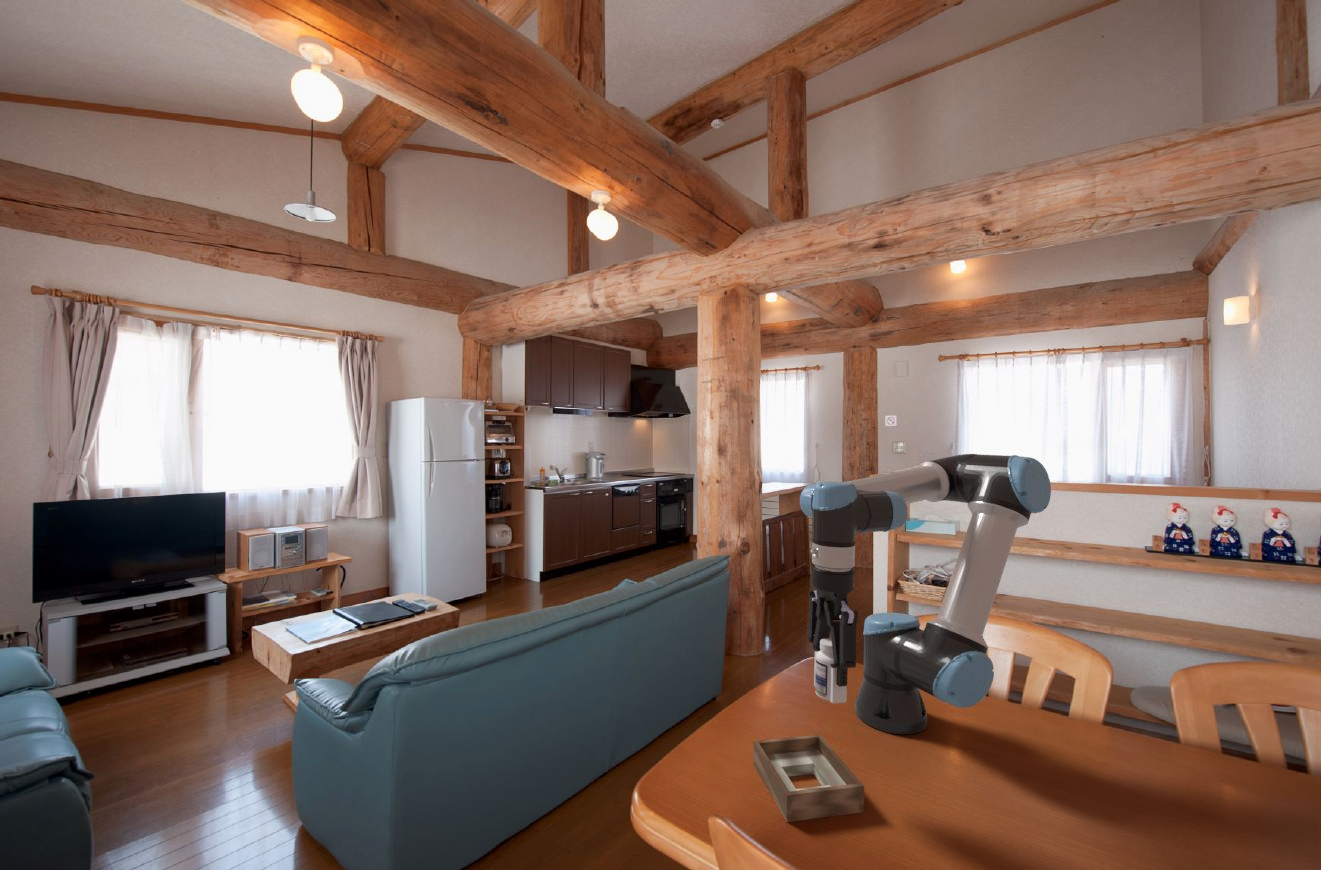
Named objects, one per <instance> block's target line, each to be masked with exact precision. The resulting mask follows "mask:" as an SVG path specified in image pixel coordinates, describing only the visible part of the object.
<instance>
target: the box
mask: <svg viewBox="0 0 1321 870" xmlns="http://www.w3.org/2000/svg"><path fill="white" fill-rule="evenodd" d="M752 756H753V762H752V763H753V766H754V768H755V770H756V771H757V772H758V775H759V776H760V779H761V780H762V782H763V784H764V785H765V787H766V789H767V790H768V792H769V794H770V795H771V797H772V798H773V801H774V803H775V804H776V806H777V807H778V809H779V811H780V813H781V815H782V817H783V818H784V820H785V822H786V823H791V822H797V821H806V820H813V819H822V818H828V817H836V816H843V815H844V816H845V815H851V814H859V813H864V812H865V811H864V809H865V808H864V805H865V804H864V803H865V802H864V801H865V799H864V798H865V795H864V794H865V785H863V783H862V782H861V781H860V780H859V778H858V777H857V776H856V775H855V774H854V772H853V771H852V770H851V769H850V767H848V765H847V764H846V763H845V762H844V761H843V759H841V757H840V756H839V754H837V752H836V751H835V749H833V748H832V746H831V745H830V744H829V743H828V741H826V740H825V738H824V737H823V735H821V734H811V735H801V736H793V737H792V736H791V737H782V738H781V737H780V738H771V739H763V740H753V755H752ZM805 775H814V776H815V778H816V779H817V781H818V782H819V784H820V785H818V786H809V787H801V788H796V787H795V785H794V783H793V782H792V780H791V779H790V777H797V776H805Z"/></svg>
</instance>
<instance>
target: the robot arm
mask: <svg viewBox="0 0 1321 870" xmlns="http://www.w3.org/2000/svg"><path fill="white" fill-rule="evenodd" d="M1051 495H1052V486H1051V479H1050V477H1049V474H1048V471H1047V470H1046V467H1045V466H1044V464H1042V463H1041V462H1040V461H1039V460H1038V459H1036V458H1034V457H1028V456H1019V455H1017V454H1014V455H1003V454H1002V455H995V454H978V453H963V454H956V455H953V456H948V457H947V456H946V457H942V458H938V459H933V460H929V461H924V462H921V463H920V464H919V465H917V466H916V468H911V469H904V470H899V471H894V472H889V473H883V474H879V475H874V476H869V477H868V476H867V477H864V478H857V479H852V480H849V481H827V480H826V481H819V482H817V483H810V484H808V485H806V486H805V487H804V488H803V490H802V491H801V493H800V496H799V507H800V508H801V511H802V512H803V514H804V515H805V516H806V517H808V518H811V519H812V521H811V522H812V525H811V526H812V529H811V536H812V538H811V541H812V543H811V549H810V554H811V563H812V564H813V565H812V566H811V568H810V569H811V570H810V571H811V572H810V585H811V587H812V588H813V589H815V590H809V591H808V600H809V610H808V611H809V613H808V634H807V635H808V636H807V637H808V638H807V639H808V642H809V643H810V644H812V648H813V650H814V661H813V662H814V663H813V665H814V670H813V673H814V674H813V686H814V687H815V673H816V654H817V652H818V651H820V650H821V649H820V640H821V639H824V638H831V639H832V649H833V658H834V664H830V665H831V694H830V701H829V703H831V704H844V703H847V699H848V697H847V696H848V688H847V687H848V670H849V669H853V668H856V667H857V622H858V620H859V613H858V611H857V610H851V608H850V607H849V604H850V603H849V600H848V594H849V593H851V592H853V590H854V589H855V571H854V569H853V568H854V567H855V566H856V534H860V533H876V532H884V533H887V532H889V531H895V530H899V529H900V528H902V527H903V526H904V525H905V523H906V521H907V518H908V506H907V504H913V503H916V502H917V503H918V502H922V501H927V502H929V503H930V502H931V503H937V502H943V501H946V502H947V501H949V502H957V503H958V502H959V503H965V504H967V507H968V509H969V511H970V512H971V514H972V515H971V518H970V520H969V523H968V527H967V530H966V533H965V535H964V539H963V541H962V544H961V548H960V551H959V552H958V553H959V554H958V556H957V559H956V562H955V565H954V568H953V570H952V574H951V576H950V578H949V579H950V580H949V583H948V584H947V587H946V591H945V594H944V596H943V600H942V602H941V606H940V608H939V611H938V613H937V614H938V615H937V617H934V618H932V619H929V620H927V621H926V625H925V627H924V629H921V623H920V620H919V618H918V617H917V616H915V615H911V614H907V613H900V612H877V613H874V614H870V615H869V616H867V617H866V618H865V619H864V623H863V624H864V627H863V632H862V633H863V634H862V636H863V637H862V639H863V642H862V643H863V677H862V678H863V679H862V681H861V683H860V687H859V690H858V693H857V695H856V697H855V703H854V707H855V708H854V712H855V714H856V716H857V717H858V718H859V720H860V721H862V722H863V723H864V724H866V725H867V726H870V727H872V728H874V729H876V730H879V731H882V732H886V733H890V734H896V735H914V734H919V733H921V732H923V731H925V730H926V729H927V726H928V713H927V709H926V706H925V702H924V700H923V696H922V694H921V691H922V692H924V693H927V694H928V695H931V696H932V697H935V699H937V700H939V701H941V702H943V703H947V704H950V705H952V706H953V707H957V708H965V709H966V708H971V707H973V706H975V705H976V704H978V703H980V702H981V701H982V700H983V699H984V698H985V697H986V696H987V694H988V692H989V691H990V689H991V687H992V685H993V681H994V677H995V672H994V671H993V670H994V669H995V667H994V664H993V661H992V660H991V658H990V657H989V656H988V655H987V651H988V648H989V646H988V644H987V641H986V640H985V638H984V632H985V628H986V626H987V624H988V620H989V616H990V613H991V610H992V607H993V604H994V601H995V598H996V595H997V592H998V589H999V586H1000V582H1001V579H1002V576H1003V573H1004V570H1005V567H1006V564H1007V562H1008V559H1009V555H1010V551H1011V549H1012V546H1013V542H1014V540H1015V536H1016V533H1017V530H1018V529H1019V528H1021V527H1024V526H1027V525H1028V524H1029V521H1030V517H1031V515H1032V514H1038V513H1042V512H1044V510H1045V509H1047V508H1048V507H1049V503H1050V500H1051V497H1052V496H1051ZM920 690H921V691H920Z"/></svg>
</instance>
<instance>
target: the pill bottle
mask: <svg viewBox="0 0 1321 870" xmlns="http://www.w3.org/2000/svg"><path fill="white" fill-rule="evenodd" d="M820 649H821V650H820V651H818V652H817V654H816V673H815V686H814V687H815V688H814V690H815V694H816V696H817V697H818V698H819V699H822V700H824V701H828V702H830V694H831V665H830V664H834V658H833V649H832V639H831V637H829V638H824V639H821V640H820Z"/></svg>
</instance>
